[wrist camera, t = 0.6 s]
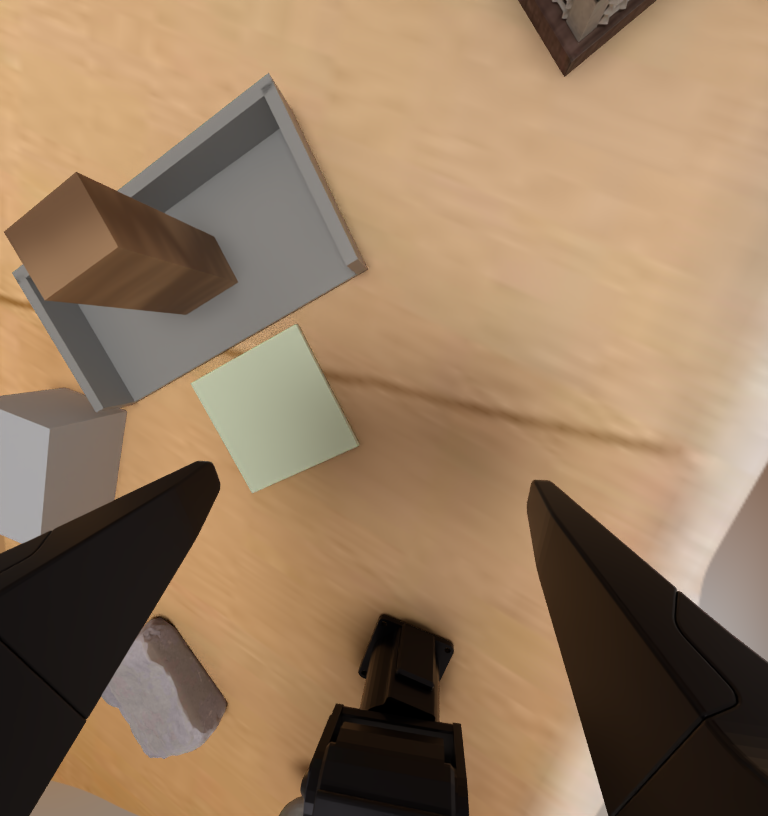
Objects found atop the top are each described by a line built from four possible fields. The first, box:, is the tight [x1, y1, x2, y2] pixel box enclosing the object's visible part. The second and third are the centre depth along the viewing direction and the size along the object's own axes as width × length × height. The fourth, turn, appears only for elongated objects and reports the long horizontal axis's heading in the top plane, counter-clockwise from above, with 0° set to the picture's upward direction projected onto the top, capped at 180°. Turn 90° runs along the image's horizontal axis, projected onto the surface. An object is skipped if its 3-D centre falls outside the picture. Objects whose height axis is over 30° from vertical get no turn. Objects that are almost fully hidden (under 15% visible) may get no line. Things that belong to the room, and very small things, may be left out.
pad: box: [191, 324, 360, 493], centre depth 26 cm, size 10×10×1 cm
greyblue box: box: [0, 388, 127, 543], centre depth 27 cm, size 10×6×6 cm, turn 162°
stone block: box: [102, 617, 227, 759], centre depth 33 cm, size 12×5×10 cm
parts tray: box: [12, 73, 367, 413], centre depth 24 cm, size 11×23×3 cm, turn 117°
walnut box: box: [4, 172, 238, 315], centre depth 20 cm, size 4×5×10 cm
